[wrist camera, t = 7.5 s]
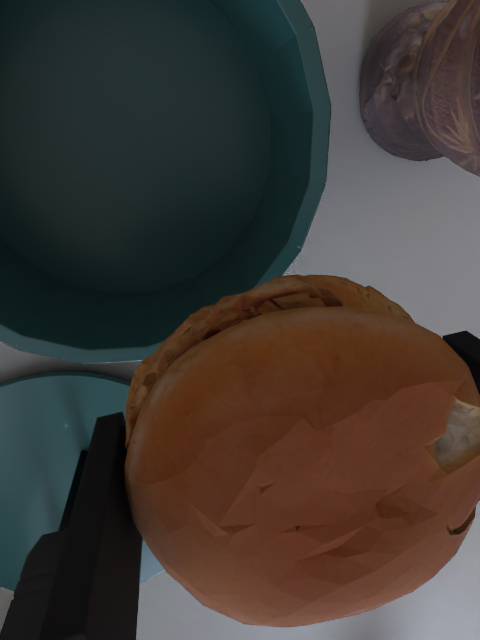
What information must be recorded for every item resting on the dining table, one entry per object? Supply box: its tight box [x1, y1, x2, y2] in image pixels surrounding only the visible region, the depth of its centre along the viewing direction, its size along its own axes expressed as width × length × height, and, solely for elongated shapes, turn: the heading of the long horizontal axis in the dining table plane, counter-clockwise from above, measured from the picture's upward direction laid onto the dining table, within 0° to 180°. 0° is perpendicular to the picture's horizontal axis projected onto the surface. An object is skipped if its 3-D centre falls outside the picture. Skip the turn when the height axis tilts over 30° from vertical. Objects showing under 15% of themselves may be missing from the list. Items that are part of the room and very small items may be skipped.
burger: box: [125, 275, 480, 627], centre depth 12 cm, size 10×9×5 cm
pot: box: [0, 0, 331, 364], centre depth 20 cm, size 17×17×8 cm
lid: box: [0, 371, 165, 591], centre depth 26 cm, size 18×18×9 cm
